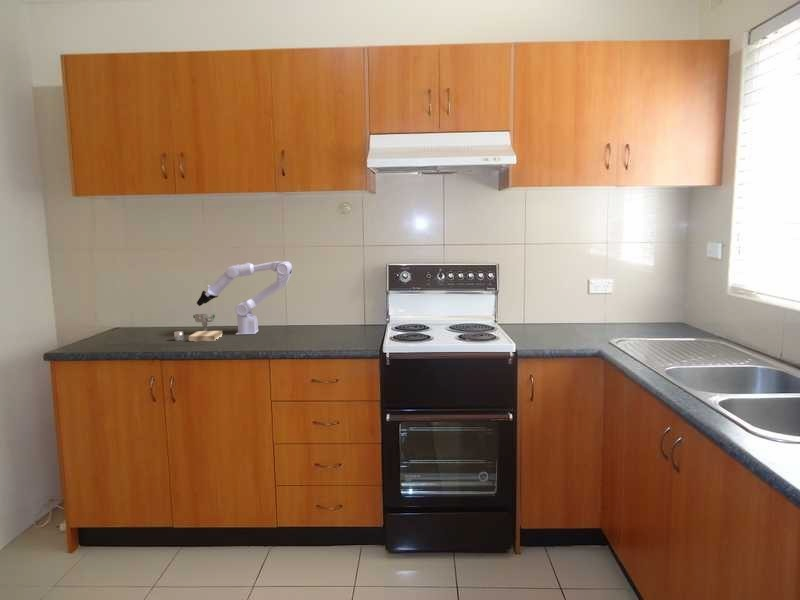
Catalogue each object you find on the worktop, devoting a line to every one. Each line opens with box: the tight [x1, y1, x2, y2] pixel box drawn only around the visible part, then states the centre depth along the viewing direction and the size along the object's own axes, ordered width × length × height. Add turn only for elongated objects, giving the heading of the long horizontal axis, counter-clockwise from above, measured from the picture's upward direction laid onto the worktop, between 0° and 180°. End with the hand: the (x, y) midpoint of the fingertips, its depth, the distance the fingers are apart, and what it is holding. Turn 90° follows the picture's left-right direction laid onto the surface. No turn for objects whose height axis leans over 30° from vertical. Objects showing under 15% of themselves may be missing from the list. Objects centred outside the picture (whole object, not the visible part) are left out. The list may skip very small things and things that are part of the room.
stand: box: [188, 330, 223, 342], centre depth 261 cm, size 12×12×2 cm
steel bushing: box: [173, 330, 185, 342], centre depth 259 cm, size 4×4×4 cm
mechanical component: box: [192, 313, 216, 331], centre depth 271 cm, size 3×10×10 cm, turn 89°
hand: (200, 303), depth 270 cm, fingers open, 7 cm apart
